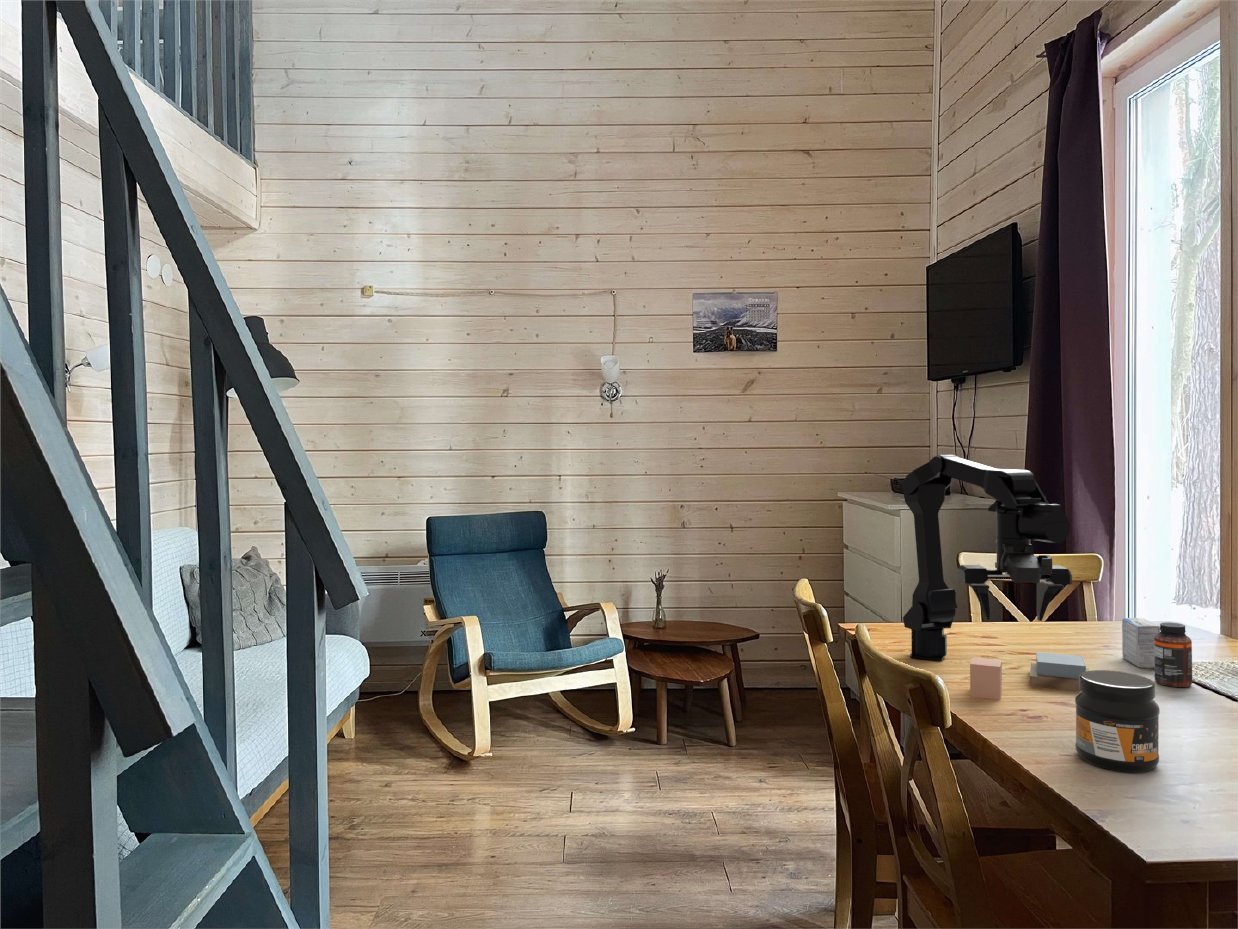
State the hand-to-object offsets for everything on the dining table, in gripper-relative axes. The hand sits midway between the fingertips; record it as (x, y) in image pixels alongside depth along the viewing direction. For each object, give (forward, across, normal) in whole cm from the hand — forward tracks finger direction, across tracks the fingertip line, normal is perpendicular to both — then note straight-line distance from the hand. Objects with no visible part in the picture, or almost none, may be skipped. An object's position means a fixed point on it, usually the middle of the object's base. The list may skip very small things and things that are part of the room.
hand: (1013, 620), depth 156 cm
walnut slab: (+13, +10, +5) cm, 17 cm away
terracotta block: (+13, -6, -4) cm, 15 cm away
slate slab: (+11, +10, +5) cm, 16 cm away
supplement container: (+13, +3, -35) cm, 38 cm away
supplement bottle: (+13, +30, +5) cm, 33 cm away
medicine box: (+13, +31, +20) cm, 39 cm away
